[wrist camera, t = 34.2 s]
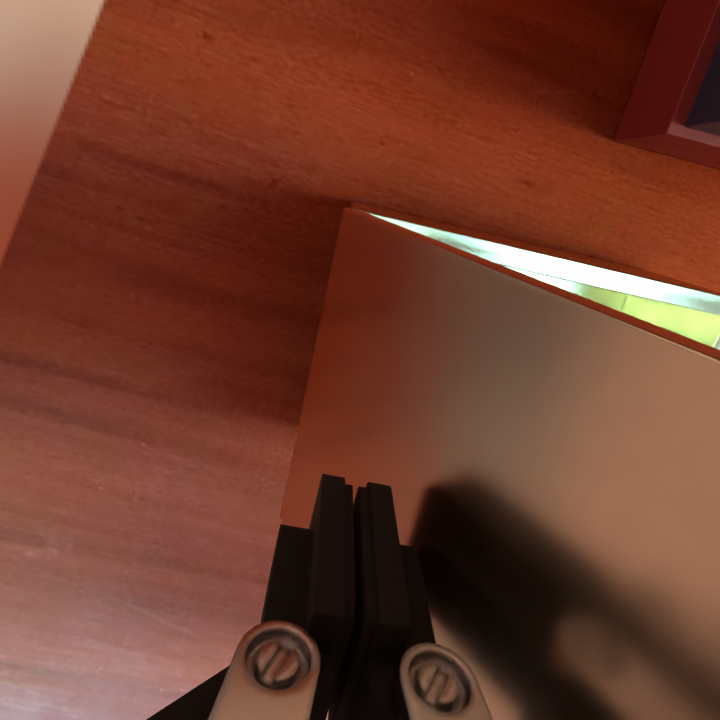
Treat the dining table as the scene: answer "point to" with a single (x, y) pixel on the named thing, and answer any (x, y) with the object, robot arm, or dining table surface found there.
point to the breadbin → (583, 276)
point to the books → (678, 86)
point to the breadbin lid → (527, 473)
